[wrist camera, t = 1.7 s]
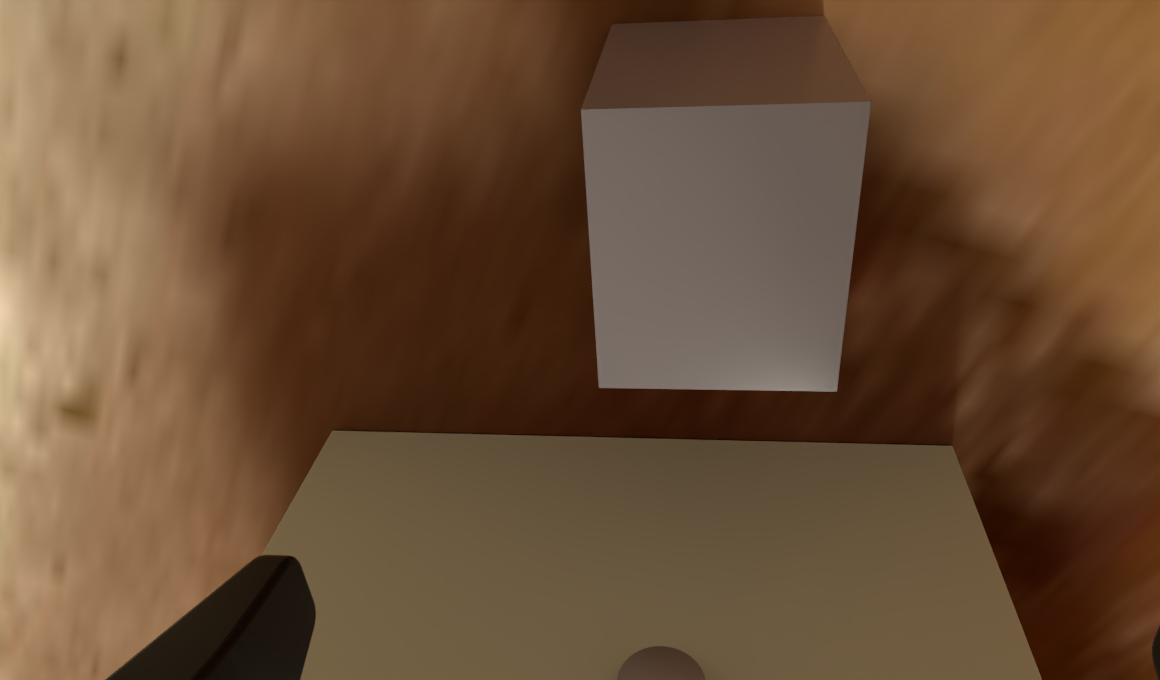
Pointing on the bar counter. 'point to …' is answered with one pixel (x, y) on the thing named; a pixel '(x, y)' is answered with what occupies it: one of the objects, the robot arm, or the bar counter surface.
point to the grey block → (722, 203)
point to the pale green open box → (646, 561)
